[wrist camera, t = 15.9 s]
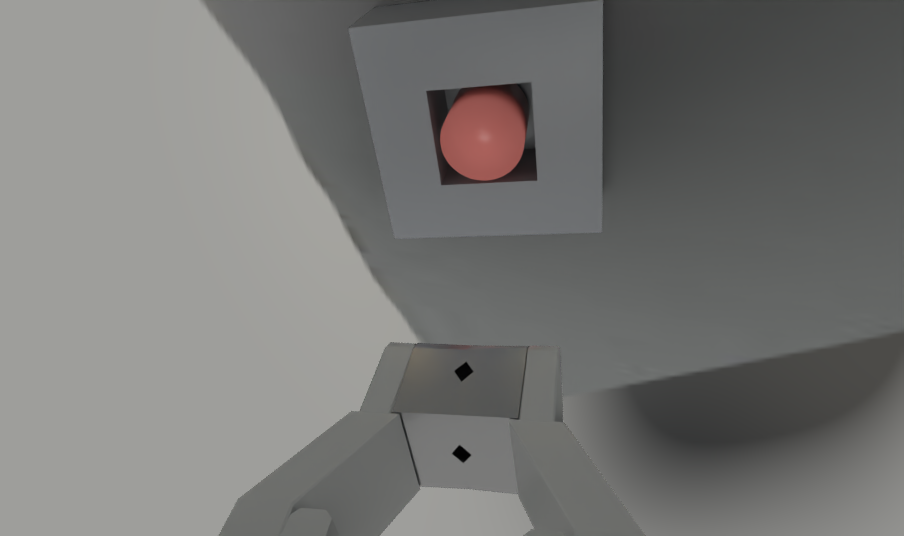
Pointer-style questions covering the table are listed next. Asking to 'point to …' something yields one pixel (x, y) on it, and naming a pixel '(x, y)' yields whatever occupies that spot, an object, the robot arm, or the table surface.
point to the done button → (485, 131)
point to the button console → (484, 64)
